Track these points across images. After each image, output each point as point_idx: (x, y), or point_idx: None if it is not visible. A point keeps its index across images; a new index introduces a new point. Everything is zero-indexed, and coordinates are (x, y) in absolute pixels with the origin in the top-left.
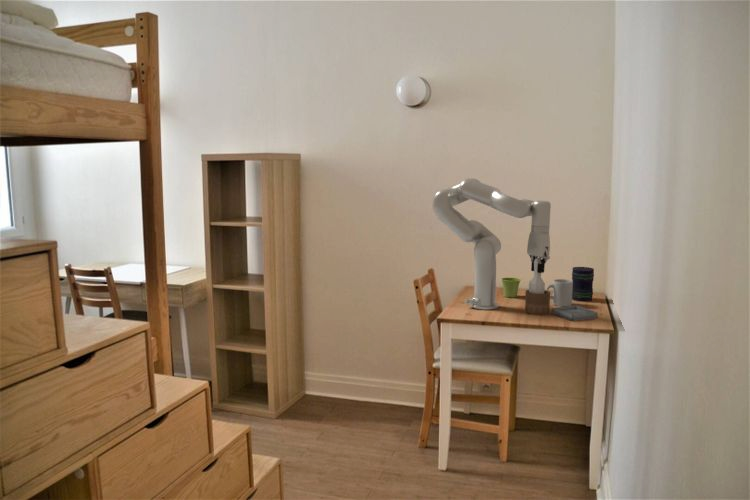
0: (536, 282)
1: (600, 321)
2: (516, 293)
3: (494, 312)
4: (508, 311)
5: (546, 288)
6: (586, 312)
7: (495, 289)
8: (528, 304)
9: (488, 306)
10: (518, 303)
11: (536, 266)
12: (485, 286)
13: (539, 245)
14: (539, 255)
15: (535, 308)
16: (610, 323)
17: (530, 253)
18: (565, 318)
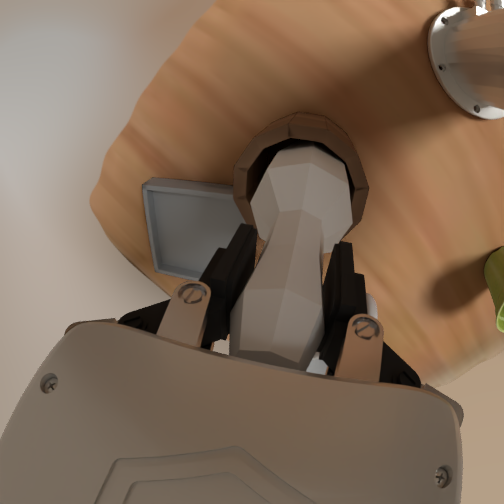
0: (267, 181)
1: (134, 241)
2: (487, 277)
3: (387, 13)
4: (375, 69)
5: (374, 316)
6: (193, 268)
7: (491, 82)
8: (305, 117)
9: (445, 35)
10: (441, 209)
11: (267, 266)
12: (497, 12)
13: (15, 480)
14: (84, 329)
15: (269, 125)
16: (116, 246)
17: (355, 399)
18: (182, 180)
